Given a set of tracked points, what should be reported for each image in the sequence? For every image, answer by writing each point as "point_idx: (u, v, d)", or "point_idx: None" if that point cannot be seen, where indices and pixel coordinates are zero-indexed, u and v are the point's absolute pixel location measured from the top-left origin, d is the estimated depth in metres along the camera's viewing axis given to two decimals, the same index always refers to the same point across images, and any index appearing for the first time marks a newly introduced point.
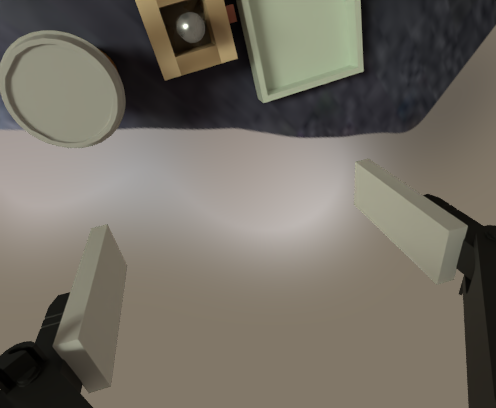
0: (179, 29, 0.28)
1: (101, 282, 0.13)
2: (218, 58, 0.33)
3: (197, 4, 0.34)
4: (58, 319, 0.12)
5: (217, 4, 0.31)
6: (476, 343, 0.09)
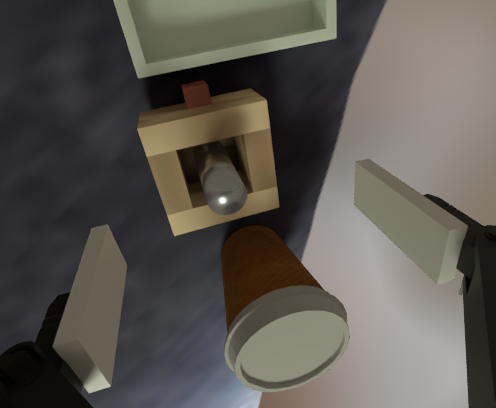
0: (228, 213, 0.19)
1: (101, 281, 0.13)
2: (262, 132, 0.21)
3: None
4: (58, 319, 0.12)
5: (187, 129, 0.19)
6: (476, 343, 0.09)
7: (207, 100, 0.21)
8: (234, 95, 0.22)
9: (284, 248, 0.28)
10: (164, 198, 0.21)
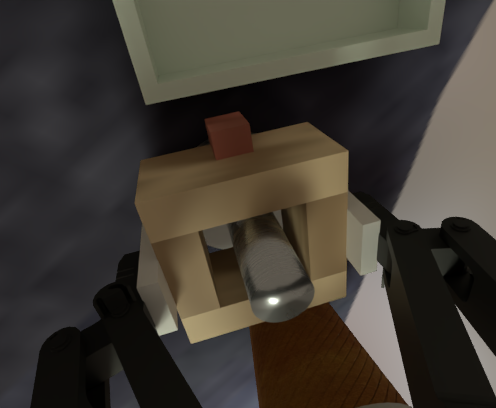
0: (282, 319, 0.12)
1: None
2: (335, 199, 0.13)
3: None
4: (130, 272, 0.13)
5: (218, 199, 0.12)
6: (407, 336, 0.10)
7: (247, 146, 0.13)
8: (286, 135, 0.14)
9: (336, 321, 0.21)
10: (177, 298, 0.14)
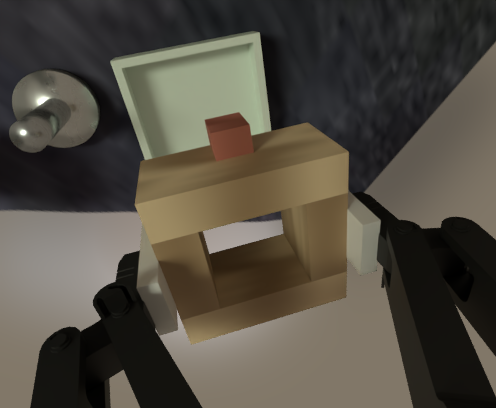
0: (12, 138, 0.23)
1: None
2: (335, 199, 0.13)
3: (69, 88, 0.29)
4: (130, 272, 0.13)
5: (218, 200, 0.12)
6: (407, 336, 0.10)
7: (247, 147, 0.13)
8: (286, 136, 0.14)
9: None
10: (177, 299, 0.14)
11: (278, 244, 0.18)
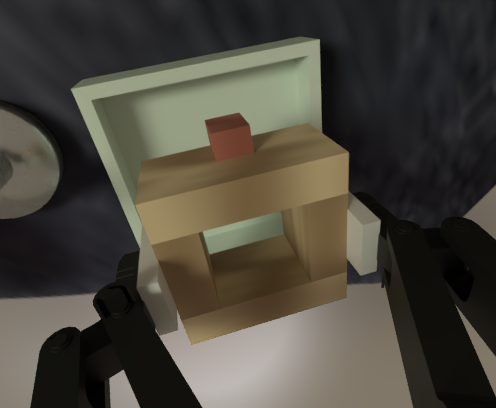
0: None
1: None
2: (335, 200, 0.13)
3: (6, 131, 0.18)
4: (130, 272, 0.13)
5: (219, 201, 0.12)
6: (407, 336, 0.10)
7: (247, 147, 0.13)
8: (286, 136, 0.14)
9: None
10: (177, 299, 0.14)
11: (278, 244, 0.18)
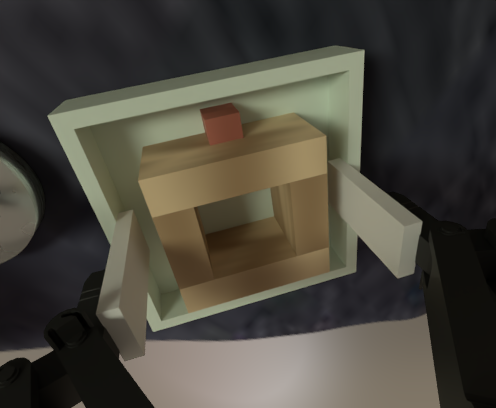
0: None
1: (132, 260, 0.14)
2: (316, 179, 0.15)
3: None
4: (94, 293, 0.12)
5: (211, 178, 0.13)
6: (441, 338, 0.09)
7: (237, 133, 0.15)
8: (273, 123, 0.16)
9: None
10: (176, 269, 0.15)
11: (268, 225, 0.19)
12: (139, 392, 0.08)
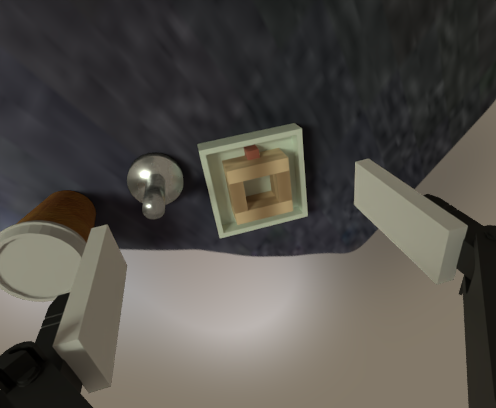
0: (143, 211, 0.35)
1: (101, 281, 0.13)
2: (285, 172, 0.41)
3: (166, 167, 0.41)
4: (58, 319, 0.12)
5: (249, 171, 0.40)
6: (476, 343, 0.09)
7: (257, 156, 0.42)
8: (270, 152, 0.43)
9: None
10: (234, 205, 0.42)
11: (269, 193, 0.46)
12: None
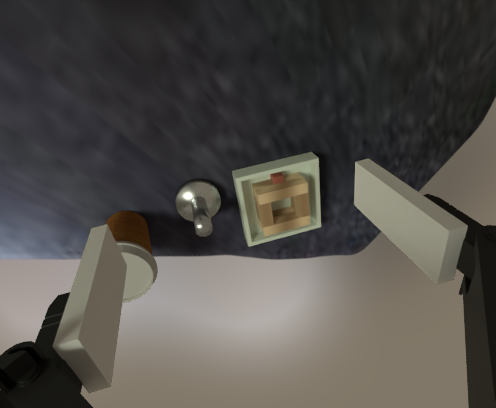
0: (196, 230, 0.44)
1: (101, 281, 0.13)
2: (305, 194, 0.50)
3: (207, 191, 0.50)
4: (58, 319, 0.12)
5: (276, 194, 0.49)
6: (476, 343, 0.09)
7: (282, 180, 0.51)
8: (292, 176, 0.52)
9: None
10: (263, 220, 0.51)
11: (289, 209, 0.55)
12: None
